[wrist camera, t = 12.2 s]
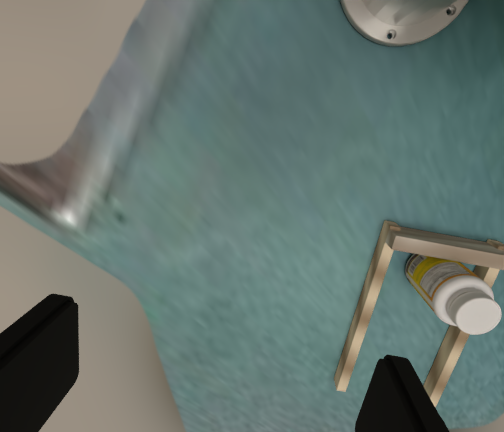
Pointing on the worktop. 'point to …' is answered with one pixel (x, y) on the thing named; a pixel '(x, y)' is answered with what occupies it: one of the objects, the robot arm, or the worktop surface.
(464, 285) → the supplement bottle
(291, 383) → the worktop surface
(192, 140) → the worktop surface
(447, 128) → the worktop surface
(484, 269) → the wooden frame
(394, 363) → the robot arm
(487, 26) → the worktop surface
